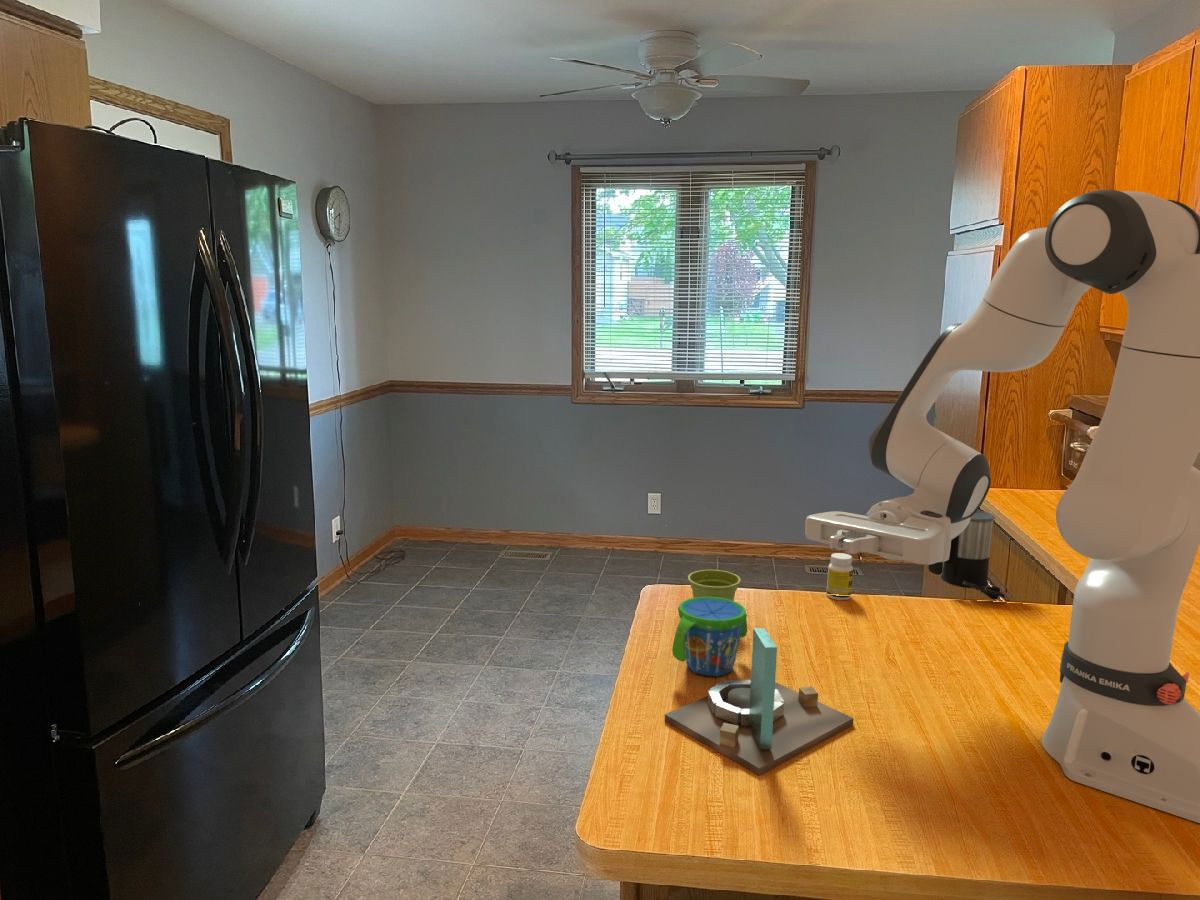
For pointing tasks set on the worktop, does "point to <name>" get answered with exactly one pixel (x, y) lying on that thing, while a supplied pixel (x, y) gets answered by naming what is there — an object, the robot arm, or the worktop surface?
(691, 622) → the snack cup
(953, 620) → the worktop surface
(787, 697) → the base
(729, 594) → the plant pot
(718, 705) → the ring with upright panel
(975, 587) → the milk frother
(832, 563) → the supplement bottle
